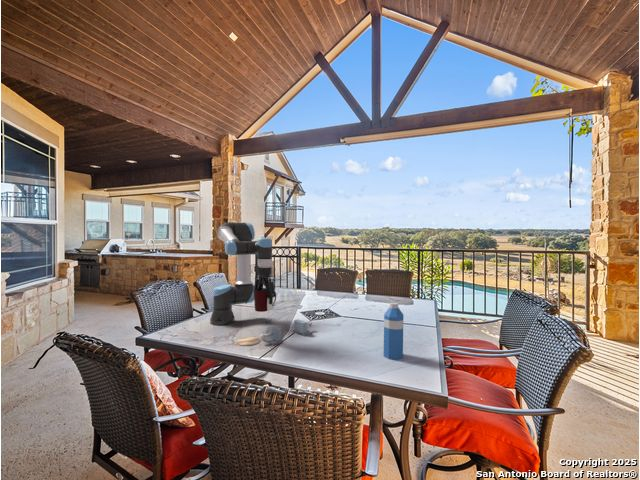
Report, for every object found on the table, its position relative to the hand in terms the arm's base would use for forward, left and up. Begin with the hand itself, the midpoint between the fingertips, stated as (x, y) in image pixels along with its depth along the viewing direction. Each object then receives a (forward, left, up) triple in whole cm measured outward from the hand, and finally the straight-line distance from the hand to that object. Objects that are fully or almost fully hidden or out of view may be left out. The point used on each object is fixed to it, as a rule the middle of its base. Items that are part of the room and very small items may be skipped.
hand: (264, 308), depth 161 cm
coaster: (-3, -8, -17) cm, 19 cm away
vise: (+5, +12, -17) cm, 22 cm away
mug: (+1, 0, -1) cm, 1 cm away
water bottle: (+59, +33, -17) cm, 70 cm away
